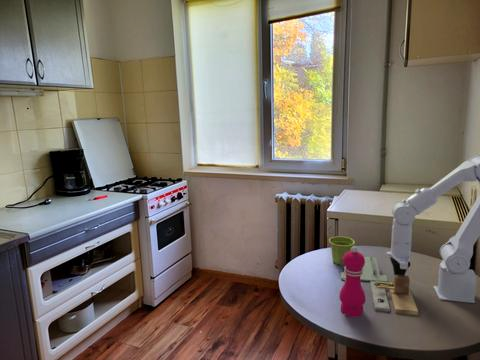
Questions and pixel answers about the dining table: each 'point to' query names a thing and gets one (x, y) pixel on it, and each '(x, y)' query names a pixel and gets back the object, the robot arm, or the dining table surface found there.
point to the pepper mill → (352, 284)
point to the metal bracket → (369, 271)
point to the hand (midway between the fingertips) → (398, 280)
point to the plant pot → (340, 248)
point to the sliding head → (399, 284)
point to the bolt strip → (379, 297)
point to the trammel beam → (401, 301)
